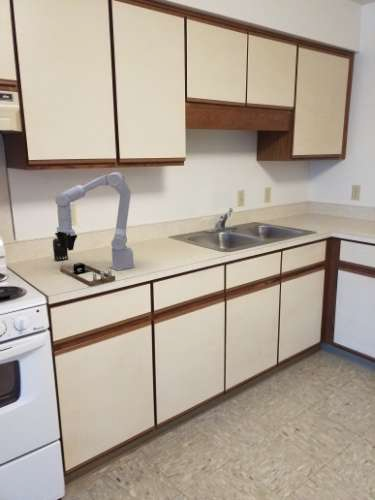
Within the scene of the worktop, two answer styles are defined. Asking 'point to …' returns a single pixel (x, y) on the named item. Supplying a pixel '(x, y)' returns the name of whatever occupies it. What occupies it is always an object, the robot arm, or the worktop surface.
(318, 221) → the worktop surface
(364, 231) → the worktop surface
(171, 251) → the worktop surface
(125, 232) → the robot arm
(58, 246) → the battery charger
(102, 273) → the loading bay
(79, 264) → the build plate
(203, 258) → the worktop surface
